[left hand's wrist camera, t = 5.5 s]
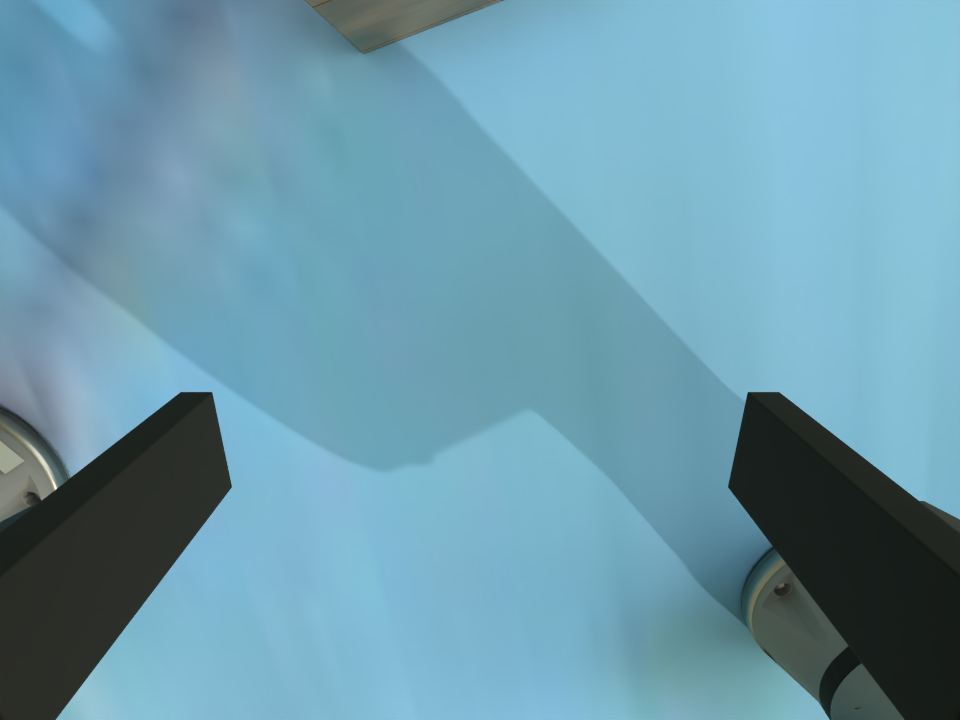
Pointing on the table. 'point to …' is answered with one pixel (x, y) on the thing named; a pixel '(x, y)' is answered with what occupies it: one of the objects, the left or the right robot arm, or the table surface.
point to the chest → (391, 18)
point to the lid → (315, 2)
